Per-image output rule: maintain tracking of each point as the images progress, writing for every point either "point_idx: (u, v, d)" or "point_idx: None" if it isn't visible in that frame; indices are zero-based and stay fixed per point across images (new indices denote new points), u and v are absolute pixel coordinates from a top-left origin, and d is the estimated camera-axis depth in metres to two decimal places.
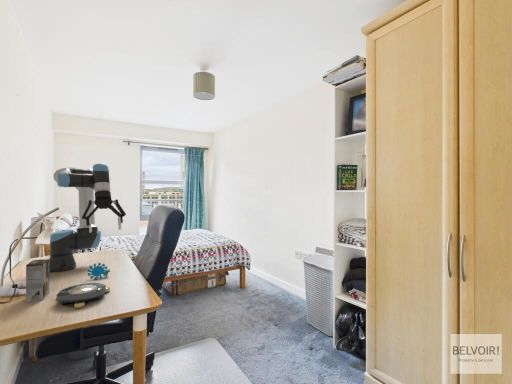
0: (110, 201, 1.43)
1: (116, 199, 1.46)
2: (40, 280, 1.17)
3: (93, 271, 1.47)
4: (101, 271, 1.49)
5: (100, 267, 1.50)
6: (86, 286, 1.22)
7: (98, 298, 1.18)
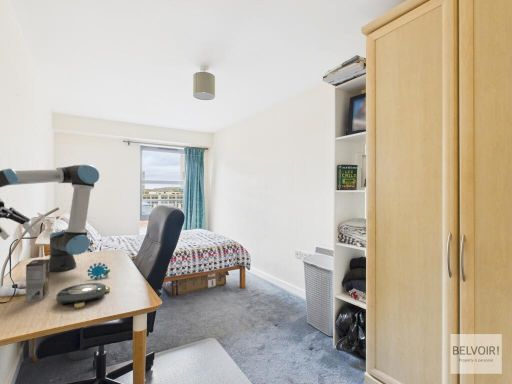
0: None
1: None
2: (40, 280, 1.17)
3: (93, 271, 1.47)
4: (101, 271, 1.49)
5: (100, 267, 1.50)
6: (86, 286, 1.22)
7: (98, 298, 1.18)
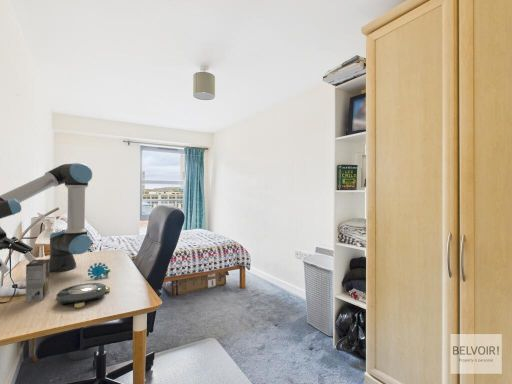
0: None
1: None
2: (40, 280, 1.17)
3: (93, 271, 1.48)
4: (101, 271, 1.49)
5: (100, 267, 1.50)
6: (86, 286, 1.22)
7: (98, 298, 1.18)
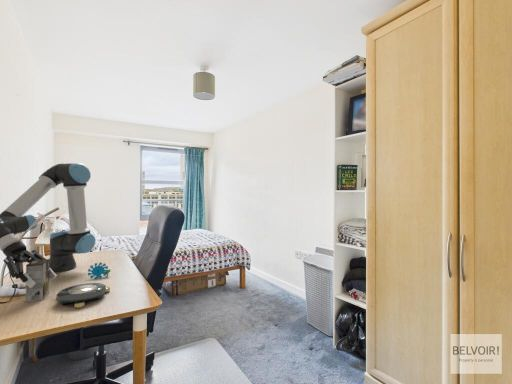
0: None
1: (4, 260, 1.15)
2: (40, 280, 1.17)
3: (93, 271, 1.48)
4: (101, 271, 1.49)
5: (101, 267, 1.51)
6: (86, 286, 1.22)
7: (98, 298, 1.18)
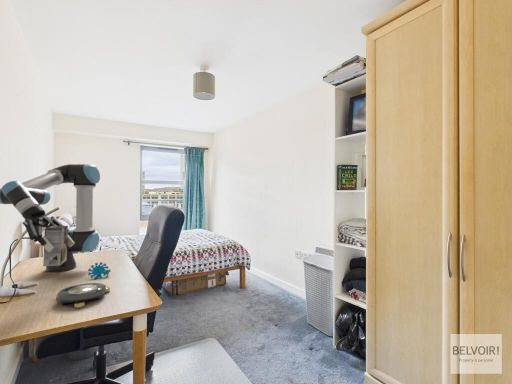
0: None
1: (23, 222, 1.12)
2: (58, 245, 1.14)
3: (94, 270, 1.48)
4: (101, 271, 1.49)
5: (101, 267, 1.51)
6: (86, 286, 1.22)
7: (98, 298, 1.18)
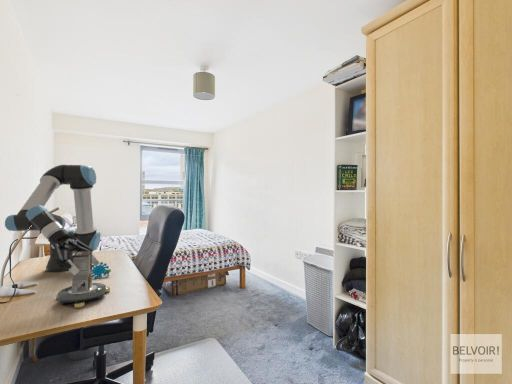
0: None
1: (50, 246, 1.14)
2: (86, 272, 1.16)
3: (94, 270, 1.49)
4: (102, 270, 1.50)
5: (101, 266, 1.51)
6: None
7: (98, 298, 1.18)
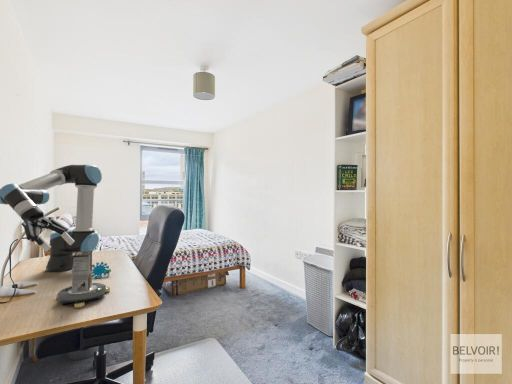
0: None
1: (22, 223, 1.14)
2: (86, 272, 1.16)
3: (94, 270, 1.49)
4: (102, 270, 1.50)
5: (102, 266, 1.52)
6: None
7: (98, 298, 1.18)
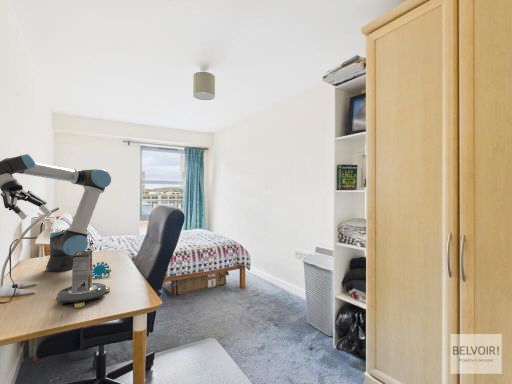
0: None
1: (1, 194, 1.24)
2: (86, 272, 1.16)
3: (95, 270, 1.50)
4: (102, 270, 1.50)
5: (102, 266, 1.52)
6: None
7: (98, 298, 1.18)
